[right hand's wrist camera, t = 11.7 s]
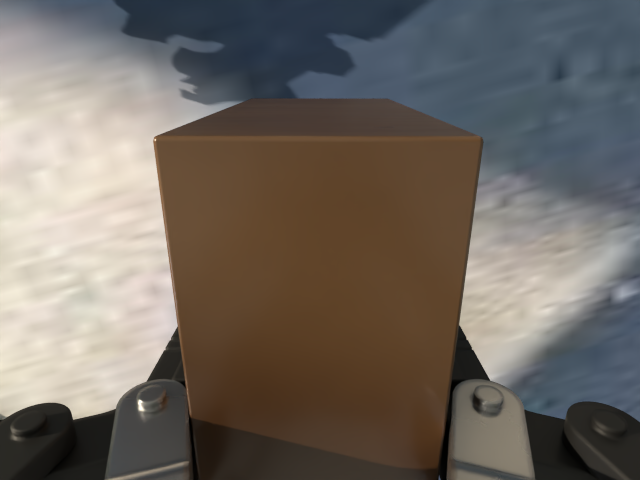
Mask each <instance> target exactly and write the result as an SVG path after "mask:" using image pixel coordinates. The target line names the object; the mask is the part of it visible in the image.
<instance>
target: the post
mask: <svg viewBox="0 0 640 480" xmlns="http://www.w3.org/2000/svg"><path fill="white" fill-rule="evenodd" d="M153 143H154V150H155V158H156V165H157V173H158V180H159V188H160V195H161V203H162V210H163V218H164V225H165V233H166V240H167V248H168V256H169V263H170V271H171V278H172V286H173V293H174V301H175V308H176V316H177V323H178V331H179V338H180V346H181V353H182V361H183V368H184V376H185V383H186V391H187V399H188V406H189V414H190V421H191V429H192V436H193V444H194V451H195V459H196V466H197V474H198V480H438V478H439V471H440V463H441V456H442V448H443V441H444V433H445V426H446V418H447V411H448V403H449V396H450V388H451V381H452V373H453V366H454V358H455V351H456V343H457V336H458V328H459V321H460V313H461V306H462V298H463V291H464V283H465V276H466V268H467V261H468V253H469V246H470V238H471V231H472V223H473V216H474V208H475V201H476V193H477V186H478V178H479V171H480V163H481V156H482V148H483V138H482V137H480V136H477V135H475V134H473V133H470V132H468V131H465V130H463V129H460V128H458V127H456V126H453V125H451V124H448V123H446V122H443V121H441V120H438V119H436V118H434V117H431V116H429V115H426V114H424V113H421V112H419V111H416V110H414V109H412V108H409V107H407V106H404V105H402V104H399V103H397V102H394V101H392V100H390V99H250V100H247V101H244V102H242V103H239V104H237V105H234V106H232V107H229V108H227V109H224V110H221V111H219V112H216V113H214V114H211V115H209V116H206V117H204V118H201V119H198V120H196V121H193V122H191V123H188V124H186V125H183V126H181V127H178V128H176V129H173V130H170V131H168V132H165V133H163V134H160V135H158V136H155V137H154V140H153Z"/></svg>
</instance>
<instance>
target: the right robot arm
mask: <svg viewBox="0 0 640 480" xmlns="http://www.w3.org/2000/svg"><path fill="white" fill-rule="evenodd" d="M439 475H440V479H441V480H640V422H639V421H637V420H636V419H634V418H633V417H632V416H630V415H629V414H627V413H625V412H623V411H621V410H619V409H617V408H615V407H612V406H609V405H606V404H602V403H597V402H578V403H575V404H573V405H572V406H570V408H569V409H568V411H567V415H566V419H565V420H564V419H560V418H555V417H551V416H546V415H542V414H537V413H534V412H530V411H527V410H524V407H523V404H522V402H521V400H520V399H519V397H518V396H517V395H516V394H515V393H514V392H512V391H511V390H510V389H508V388H506V387H505V386H503V385H500V384H498V383H495V382H492V381H490V379H489V378H488V376H487V374H486V372H485V370H484V369H483V367H482V365H481V363H480V361H479V360H478V358H477V356H476V354H475V352H474V351H473V350H472V347H471V345H470V343H469V342H468V340H466V336H465V334H464V333H463V331H462V329H461V327H460V326H459V328H458V336H457V343H456V351H455V358H454V366H453V373H452V381H451V388H450V396H449V403H448V411H447V418H446V426H445V433H444V441H443V448H442V456H441V463H440V471H439ZM0 480H198V474H197V466H196V459H195V451H194V444H193V436H192V429H191V421H190V414H189V406H188V399H187V391H186V383H185V376H184V368H183V361H182V353H181V346H180V338H179V331H178V327H177V329H176V331H175V332H174V334H173V336H172V338H171V341H169V343H168V345H167V346H166V350H164V352H163V354H162V355H161V357H160V359H159V361H158V362H157V364H156V366H155V368H154V369H153V371H152V373H151V375H150V377H149V378H148V380H147V382H145V383H142V384H140V385H137V386H135V387H134V388H132V389H130V390H129V391H128V392H126V393H125V394H124V395H123V396H122V398H121V399H120V400H119V402H118V404H117V407H116V409H114V410H112V411H109V412H105V413H102V414H98V415H93V416H89V417H84V418H80V419H75V420H73V418H72V414H71V411H70V409H69V408H68V407H66V406H65V405H62V404H59V403H42V404H37V405H34V406H30V407H27V408H25V409H22V410H20V411H18V412H16V413H14V414H12V415H10V416H9V417H7V418H6V419H4V420H3V421H2V420H0Z"/></svg>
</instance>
